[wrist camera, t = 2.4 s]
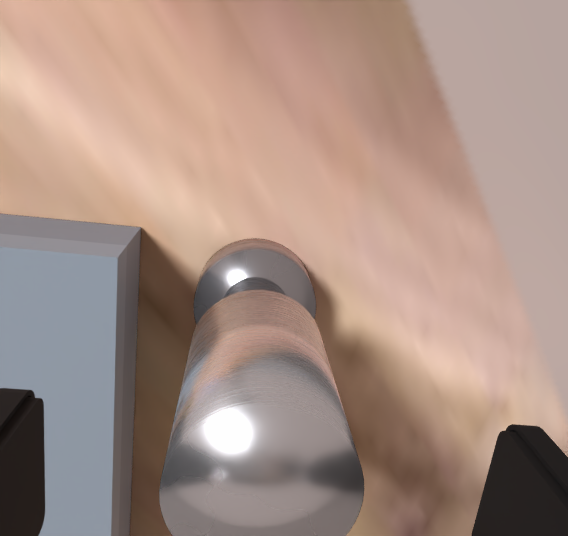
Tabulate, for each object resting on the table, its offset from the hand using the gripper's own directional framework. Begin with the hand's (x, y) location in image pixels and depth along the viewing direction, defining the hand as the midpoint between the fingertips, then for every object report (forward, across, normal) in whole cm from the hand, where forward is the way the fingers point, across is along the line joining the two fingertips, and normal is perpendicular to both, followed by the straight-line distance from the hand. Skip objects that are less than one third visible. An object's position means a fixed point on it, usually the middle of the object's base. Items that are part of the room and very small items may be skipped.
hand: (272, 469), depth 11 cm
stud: (+9, 0, -1) cm, 9 cm away
